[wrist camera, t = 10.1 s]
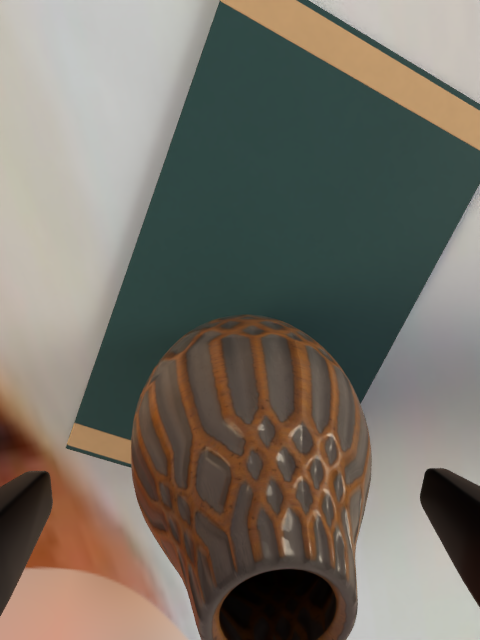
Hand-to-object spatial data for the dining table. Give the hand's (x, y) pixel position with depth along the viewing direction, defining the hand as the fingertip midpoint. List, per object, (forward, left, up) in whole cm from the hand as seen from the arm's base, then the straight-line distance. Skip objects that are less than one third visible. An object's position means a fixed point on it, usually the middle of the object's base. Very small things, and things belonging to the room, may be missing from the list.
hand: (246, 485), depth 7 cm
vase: (0, 0, -6) cm, 6 cm away
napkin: (0, -4, -6) cm, 8 cm away
